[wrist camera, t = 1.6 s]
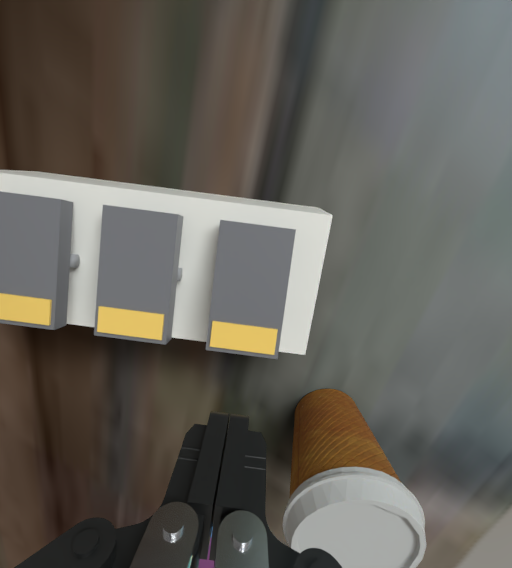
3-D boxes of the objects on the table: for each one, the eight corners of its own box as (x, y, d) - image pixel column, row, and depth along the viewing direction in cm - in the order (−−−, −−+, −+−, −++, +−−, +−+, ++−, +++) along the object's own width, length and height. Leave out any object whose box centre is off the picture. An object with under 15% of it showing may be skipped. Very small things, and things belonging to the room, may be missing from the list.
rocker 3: (222, 221, 19) (219, 219, 18) (293, 230, 19) (296, 229, 18) (208, 343, 20) (205, 350, 19) (276, 352, 20) (277, 360, 19)
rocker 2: (112, 207, 19) (101, 204, 18) (183, 216, 19) (177, 213, 18) (103, 330, 20) (92, 336, 19) (171, 339, 20) (164, 345, 19)
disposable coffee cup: (390, 426, 31) (458, 566, 20) (309, 463, 33) (329, 609, 22) (344, 357, 29) (392, 471, 18) (260, 401, 31) (255, 528, 20)
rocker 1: (3, 193, 19) (-17, 189, 18) (73, 202, 19) (59, 198, 18) (-1, 316, 20) (-20, 321, 19) (66, 325, 20) (52, 330, 19)
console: (36, 171, 25) (-47, 167, 18) (318, 207, 25) (335, 216, 18) (48, 290, 28) (-18, 322, 22) (297, 322, 28) (305, 365, 22)
